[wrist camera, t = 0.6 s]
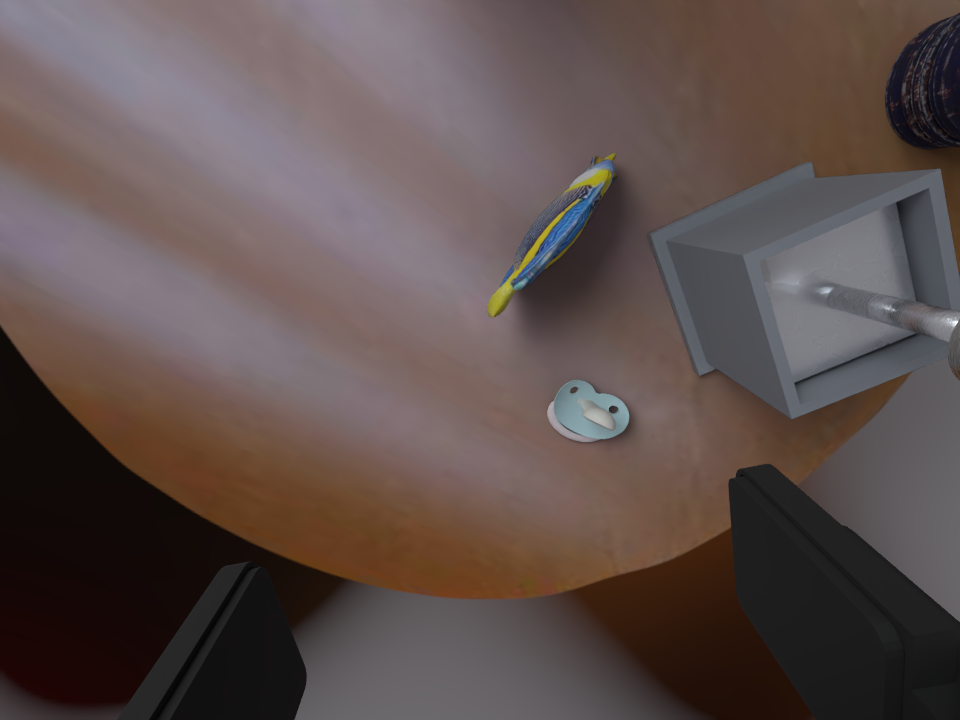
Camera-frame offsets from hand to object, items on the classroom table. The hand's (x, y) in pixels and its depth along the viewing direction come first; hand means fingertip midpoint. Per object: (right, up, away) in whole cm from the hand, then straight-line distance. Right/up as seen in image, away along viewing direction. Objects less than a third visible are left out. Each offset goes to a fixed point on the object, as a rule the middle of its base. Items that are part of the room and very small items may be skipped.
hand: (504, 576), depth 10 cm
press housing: (+23, +12, +35) cm, 44 cm away
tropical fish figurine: (+5, +16, +34) cm, 38 cm away
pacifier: (+9, 0, +39) cm, 41 cm away
